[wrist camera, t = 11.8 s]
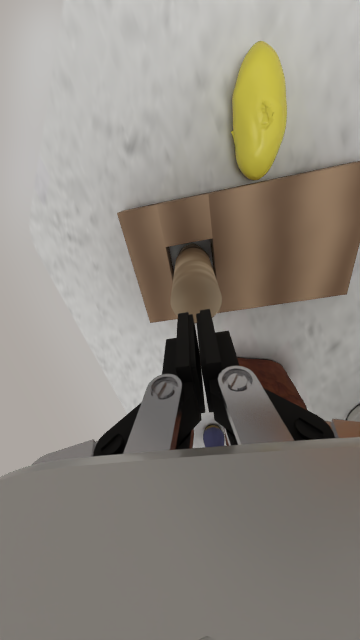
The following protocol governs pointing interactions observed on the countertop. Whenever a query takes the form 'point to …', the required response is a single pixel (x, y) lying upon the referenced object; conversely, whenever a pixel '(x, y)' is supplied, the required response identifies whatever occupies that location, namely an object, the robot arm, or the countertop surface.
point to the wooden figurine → (272, 380)
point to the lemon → (259, 111)
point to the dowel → (194, 283)
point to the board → (254, 239)
